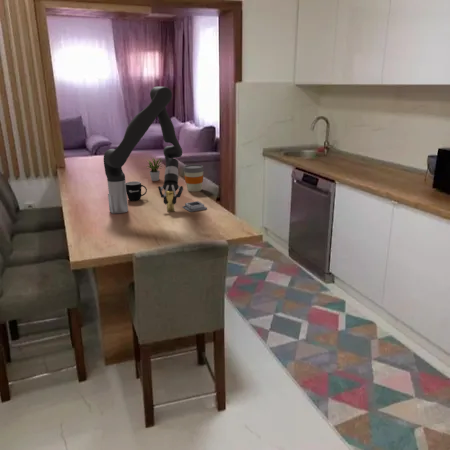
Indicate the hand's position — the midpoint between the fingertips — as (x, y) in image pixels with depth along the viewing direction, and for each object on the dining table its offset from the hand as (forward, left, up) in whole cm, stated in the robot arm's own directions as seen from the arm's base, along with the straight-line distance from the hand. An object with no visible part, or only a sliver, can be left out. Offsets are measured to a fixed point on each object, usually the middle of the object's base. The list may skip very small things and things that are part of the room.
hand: (169, 203), depth 231 cm
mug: (-7, +34, -5) cm, 35 cm away
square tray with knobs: (+14, -1, -5) cm, 15 cm away
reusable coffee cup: (+32, +37, -5) cm, 49 cm away
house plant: (+22, +77, -5) cm, 80 cm away
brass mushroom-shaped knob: (+1, +2, -5) cm, 5 cm away
